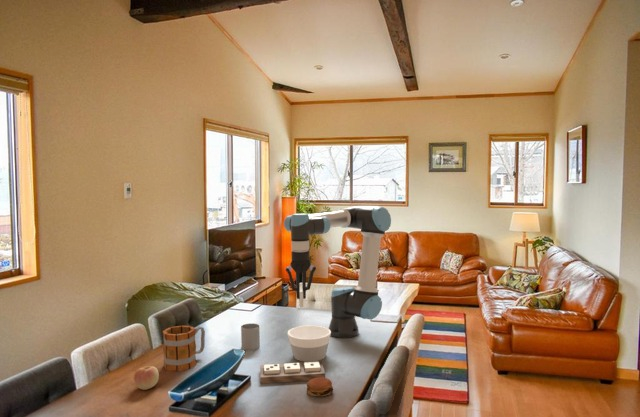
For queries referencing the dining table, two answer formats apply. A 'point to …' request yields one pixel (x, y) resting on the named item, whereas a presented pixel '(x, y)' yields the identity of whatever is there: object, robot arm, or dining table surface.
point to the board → (290, 375)
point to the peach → (146, 377)
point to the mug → (181, 347)
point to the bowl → (309, 342)
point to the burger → (319, 387)
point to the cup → (250, 336)
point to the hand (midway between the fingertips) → (301, 306)
